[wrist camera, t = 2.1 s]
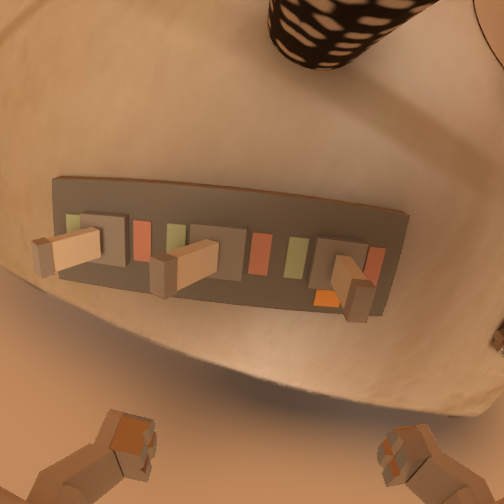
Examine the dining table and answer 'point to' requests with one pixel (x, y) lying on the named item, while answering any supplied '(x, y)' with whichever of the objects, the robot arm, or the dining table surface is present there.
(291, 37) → the white-spotted black cylinder
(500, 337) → the egg carton
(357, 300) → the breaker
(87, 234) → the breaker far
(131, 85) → the dining table surface
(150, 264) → the breaker mid
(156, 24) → the dining table surface
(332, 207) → the breaker panel
